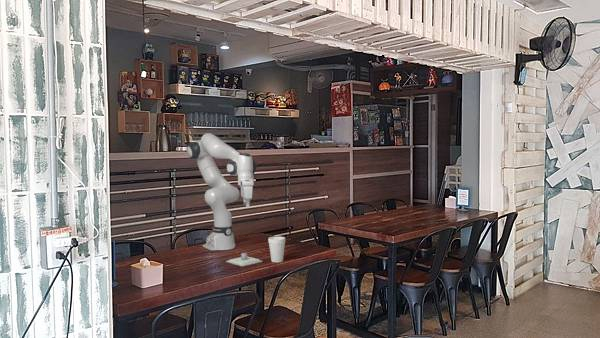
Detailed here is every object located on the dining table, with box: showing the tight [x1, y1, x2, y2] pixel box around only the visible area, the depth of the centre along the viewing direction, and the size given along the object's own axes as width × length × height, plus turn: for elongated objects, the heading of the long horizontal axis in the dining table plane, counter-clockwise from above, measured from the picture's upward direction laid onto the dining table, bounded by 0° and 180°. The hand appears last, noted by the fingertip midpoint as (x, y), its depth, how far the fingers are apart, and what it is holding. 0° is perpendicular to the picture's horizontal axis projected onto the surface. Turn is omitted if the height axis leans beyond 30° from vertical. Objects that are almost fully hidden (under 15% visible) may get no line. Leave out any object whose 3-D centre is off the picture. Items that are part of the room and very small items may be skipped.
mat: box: [225, 259, 263, 267], centre depth 276 cm, size 15×14×1 cm
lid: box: [228, 252, 260, 265], centre depth 276 cm, size 12×12×4 cm
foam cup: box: [267, 236, 286, 263], centre depth 277 cm, size 10×9×13 cm
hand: (246, 206), depth 279 cm, fingers open, 8 cm apart
